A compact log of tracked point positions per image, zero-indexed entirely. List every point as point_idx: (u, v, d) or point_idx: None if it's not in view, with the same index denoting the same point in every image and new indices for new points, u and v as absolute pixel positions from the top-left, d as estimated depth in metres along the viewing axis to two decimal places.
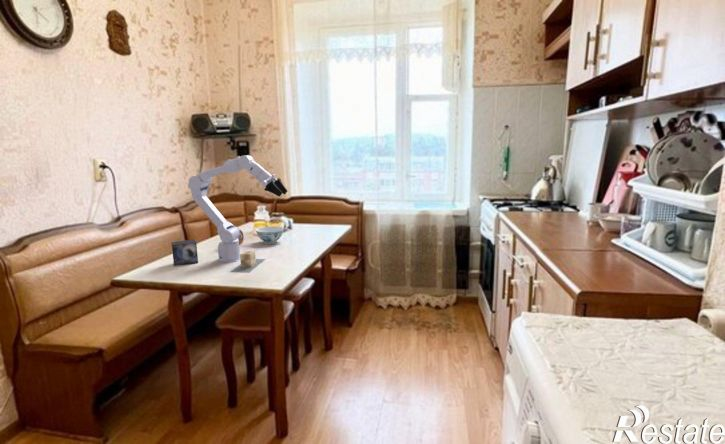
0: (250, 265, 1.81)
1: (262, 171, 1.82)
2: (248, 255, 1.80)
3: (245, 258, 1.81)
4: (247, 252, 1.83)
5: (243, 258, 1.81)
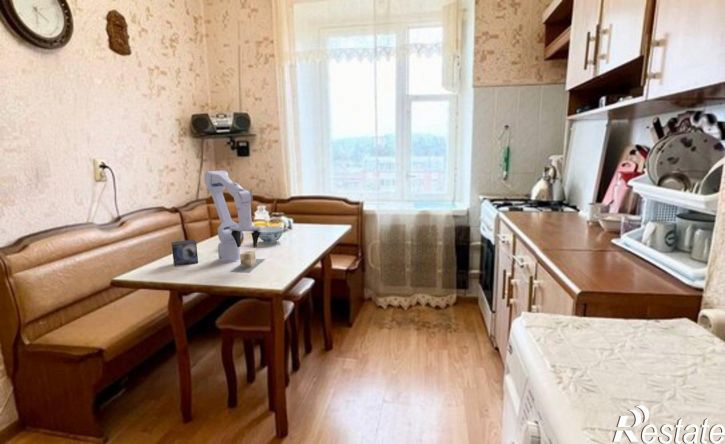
0: (250, 265, 1.81)
1: (239, 218, 1.78)
2: (248, 255, 1.80)
3: (245, 258, 1.81)
4: (247, 252, 1.83)
5: (243, 258, 1.81)
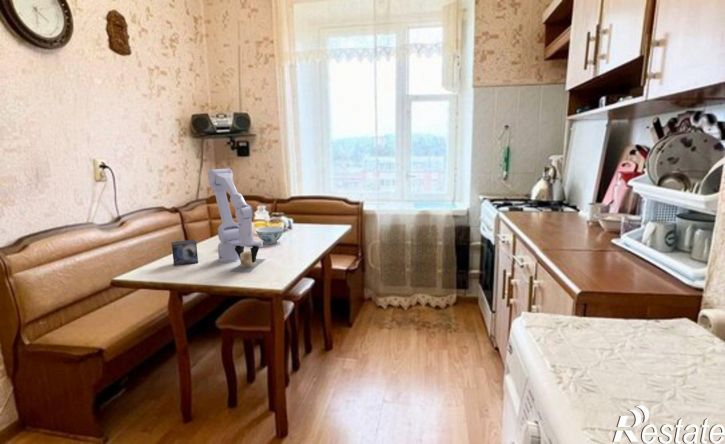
0: (250, 265, 1.81)
1: (240, 234, 1.79)
2: (248, 255, 1.80)
3: (245, 258, 1.81)
4: (247, 252, 1.83)
5: (243, 258, 1.81)
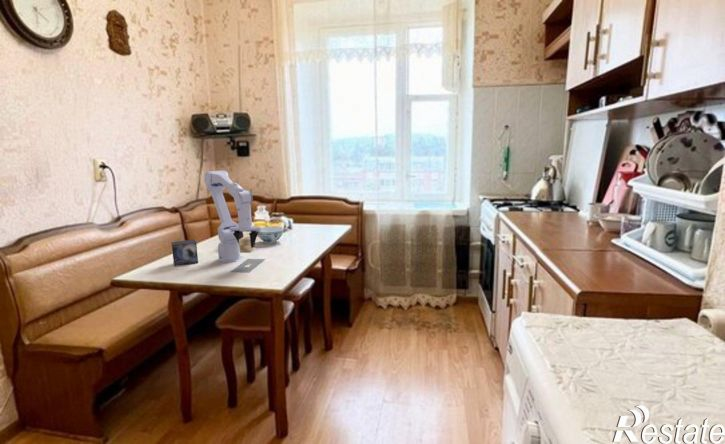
0: (249, 251, 1.80)
1: (239, 219, 1.78)
2: (247, 241, 1.79)
3: (243, 244, 1.79)
4: (246, 238, 1.81)
5: (241, 243, 1.79)
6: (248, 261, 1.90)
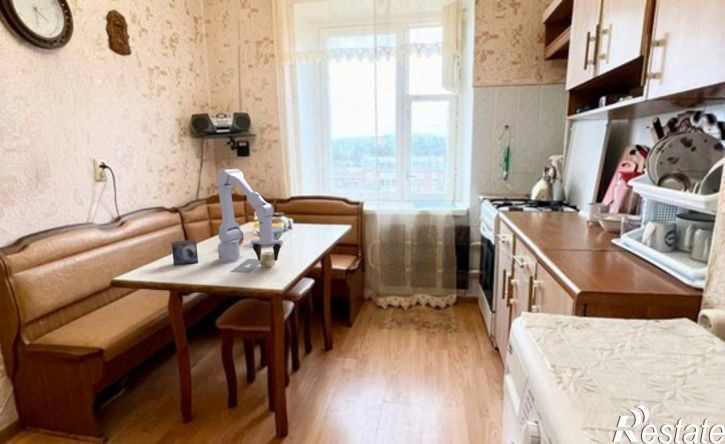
0: (270, 266, 1.80)
1: (260, 232, 1.78)
2: (268, 256, 1.79)
3: (265, 259, 1.79)
4: (267, 253, 1.82)
5: (263, 258, 1.80)
6: (248, 261, 1.90)
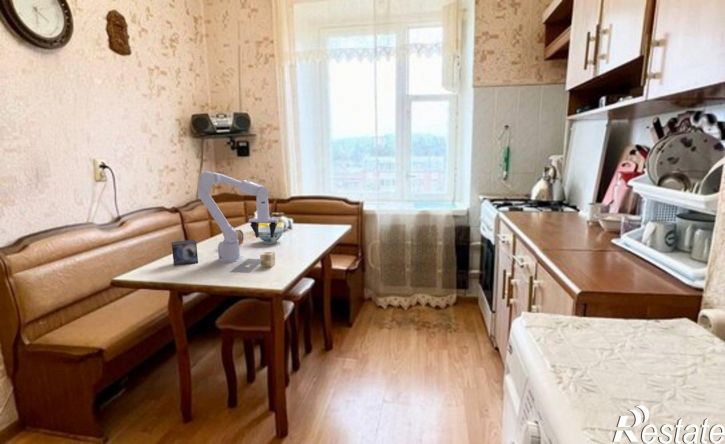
0: (270, 266, 1.80)
1: (257, 211, 1.94)
2: (268, 256, 1.79)
3: (265, 259, 1.79)
4: (267, 253, 1.82)
5: (263, 258, 1.80)
6: (248, 261, 1.90)
